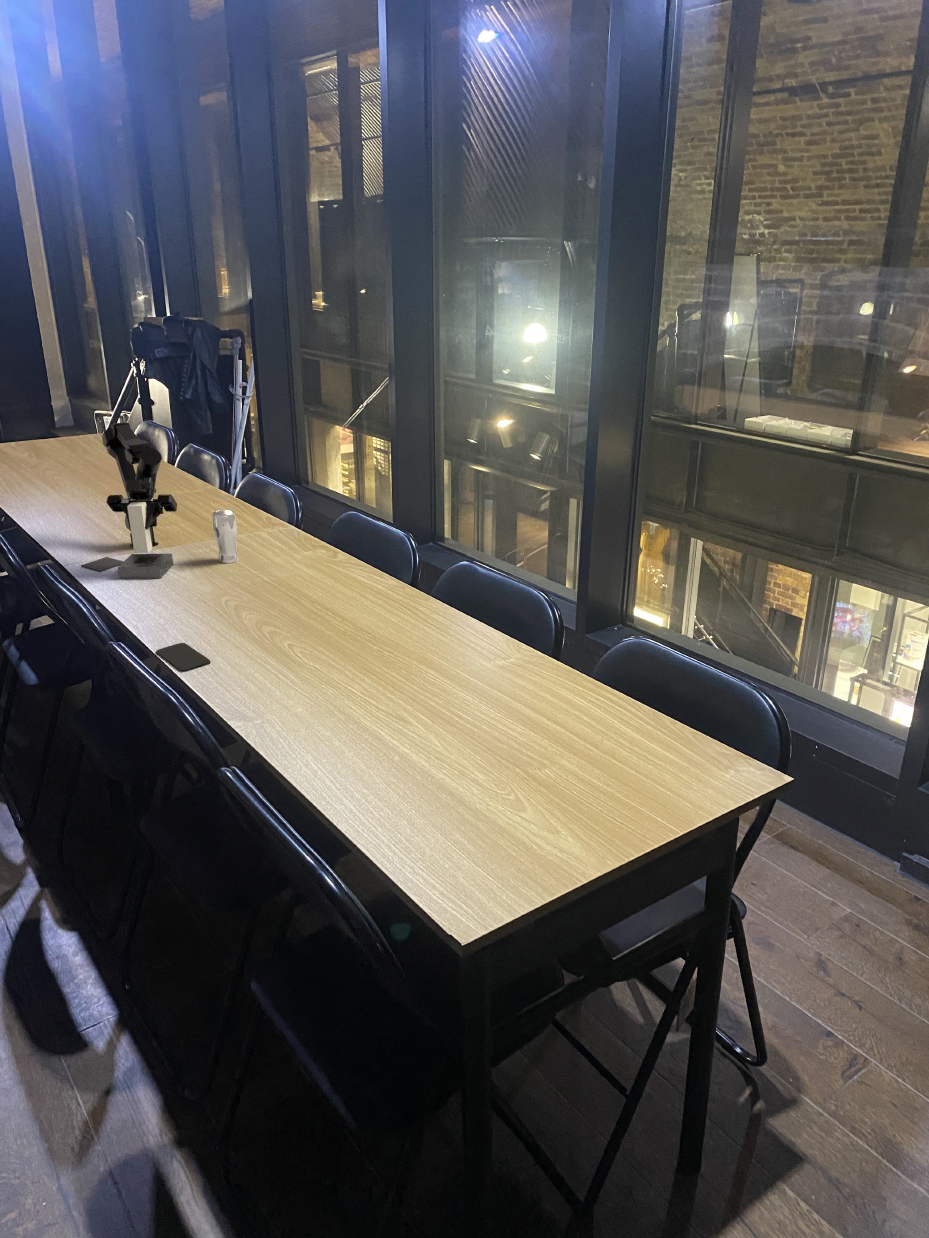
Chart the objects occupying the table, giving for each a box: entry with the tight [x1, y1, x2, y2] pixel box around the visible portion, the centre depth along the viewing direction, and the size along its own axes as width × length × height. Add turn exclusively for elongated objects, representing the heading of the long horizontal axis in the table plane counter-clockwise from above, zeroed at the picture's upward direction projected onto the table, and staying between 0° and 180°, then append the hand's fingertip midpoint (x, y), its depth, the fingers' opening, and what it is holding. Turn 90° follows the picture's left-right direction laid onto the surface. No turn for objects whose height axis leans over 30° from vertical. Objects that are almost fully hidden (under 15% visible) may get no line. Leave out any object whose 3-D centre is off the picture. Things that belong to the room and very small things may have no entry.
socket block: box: [117, 553, 174, 580], centre depth 258 cm, size 12×12×4 cm
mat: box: [80, 556, 125, 573], centre depth 264 cm, size 9×9×1 cm
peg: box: [127, 502, 153, 554], centre depth 253 cm, size 4×4×14 cm
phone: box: [155, 642, 212, 673], centre depth 203 cm, size 7×1×15 cm
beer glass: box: [211, 509, 240, 564], centre depth 265 cm, size 7×7×15 cm
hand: (138, 529), depth 252 cm, fingers closed on peg, 4 cm apart
